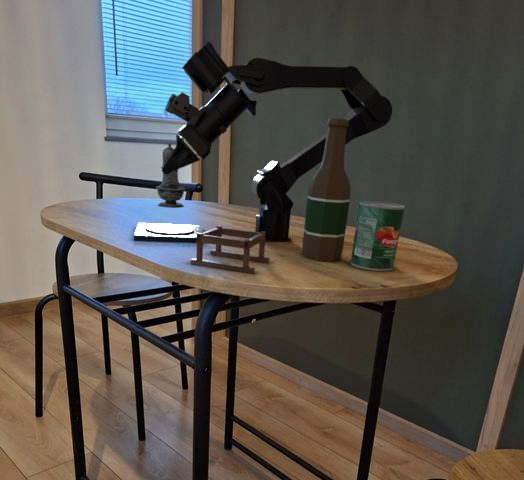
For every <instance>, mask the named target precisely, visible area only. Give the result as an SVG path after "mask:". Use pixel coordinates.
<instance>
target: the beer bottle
mask: <svg viewBox="0 0 524 480" xmlns="http://www.w3.org/2000/svg"><path fill="white" fill-rule="evenodd" d="M326 126H327V132H326V133H327V137H326V142H325V148H324V154H323V159H322V162H321V163H320V166H319V169H318V170H317V171H316V172H315V174H314V175H313V176H312V179H311V181H310V183H309V186H308V192H307V197H306V208H305V217H304V228H303V237H302V248H301V249H302V250H301V251H302V252H301V253H302V255H303V256H304V257H305V258H306V259H309V260H313V261H318V262H335V261H339V260H341V259H342V257H343V250H344V246H345V245H344V244H345V237H346V230H347V224H348V217H349V207H350V201H351V183H350V179H349V177H348V175H347V173H346V171H345V151H346V145H345V140H346V128H347V127H348V126H349V125H348V120H347V119H344V118H341V117H329V118H328V120H327V122H326Z"/></svg>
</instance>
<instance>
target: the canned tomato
mask: <svg viewBox="0 0 524 480" xmlns="http://www.w3.org/2000/svg"><path fill="white" fill-rule="evenodd" d="M358 205H359V206H358V211H357V218H356V225H355V231H354V239H353V245H352V251H351V258H350V259H351V260H350V262H349V263H350V265H351V266H353V267H355V268H357V269H360V270H366V271H373V272H389V271H392V270H394V266H395V261H396V257H397V251H398V246H399V241H400V234H401V230H402V229H401V228H402V225H403V224H402V223H403V219H404V212H405V209H406V206H405V205H403V204H400V203H399V204H398V203H394V202H386V201H376V200H375V201H373V200H362V201H359V204H358Z"/></svg>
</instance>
